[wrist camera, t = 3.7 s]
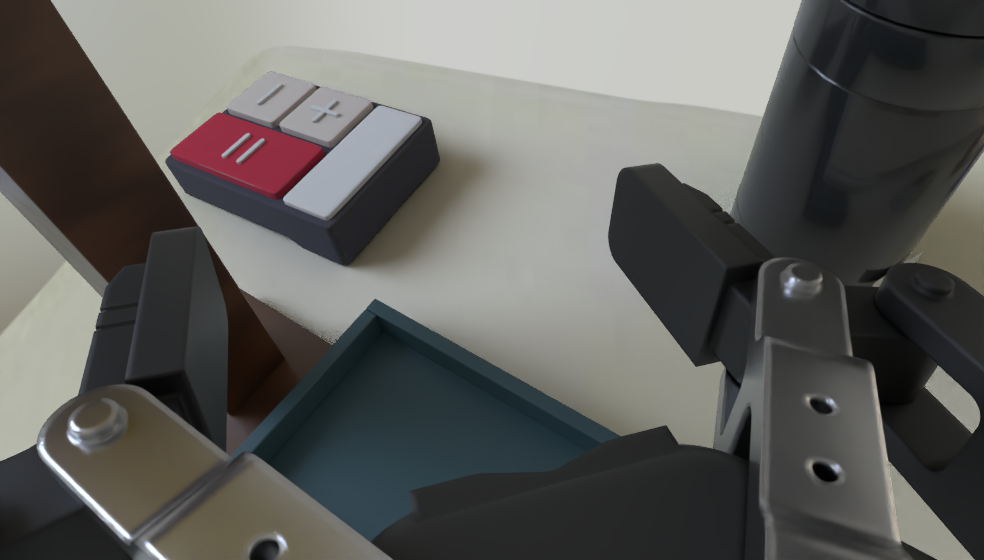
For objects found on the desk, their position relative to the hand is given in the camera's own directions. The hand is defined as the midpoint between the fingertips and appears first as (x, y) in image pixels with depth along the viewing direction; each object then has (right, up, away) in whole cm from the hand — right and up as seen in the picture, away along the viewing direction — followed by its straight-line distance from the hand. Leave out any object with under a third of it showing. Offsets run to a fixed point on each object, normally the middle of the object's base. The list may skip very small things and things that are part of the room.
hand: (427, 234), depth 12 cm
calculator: (-12, +6, +33) cm, 35 cm away
